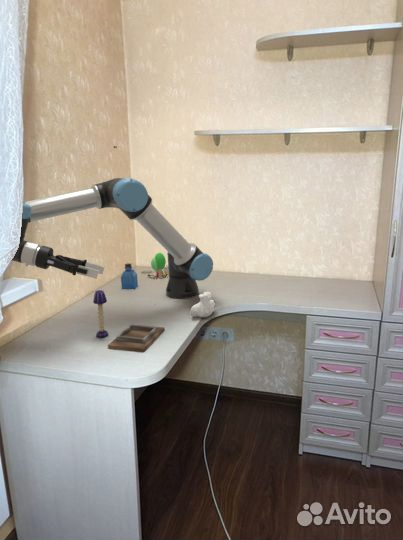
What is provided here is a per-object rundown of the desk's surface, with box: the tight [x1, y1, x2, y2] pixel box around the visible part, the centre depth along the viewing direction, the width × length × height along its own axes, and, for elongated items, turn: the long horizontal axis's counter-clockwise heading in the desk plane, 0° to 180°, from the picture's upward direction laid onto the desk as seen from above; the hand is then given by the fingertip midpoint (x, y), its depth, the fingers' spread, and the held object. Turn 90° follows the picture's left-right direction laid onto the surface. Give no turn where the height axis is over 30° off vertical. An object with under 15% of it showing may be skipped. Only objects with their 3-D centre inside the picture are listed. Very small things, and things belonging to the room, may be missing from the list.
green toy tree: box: [150, 252, 169, 279], centre depth 220 cm, size 15×14×14 cm
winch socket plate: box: [107, 324, 165, 353], centre depth 142 cm, size 18×13×3 cm
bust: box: [189, 291, 216, 318], centre depth 160 cm, size 12×8×11 cm
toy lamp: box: [92, 289, 109, 339], centre depth 144 cm, size 5×5×17 cm
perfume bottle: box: [120, 263, 139, 290], centre depth 200 cm, size 6×6×12 cm
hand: (100, 272), depth 140 cm, fingers open, 13 cm apart
